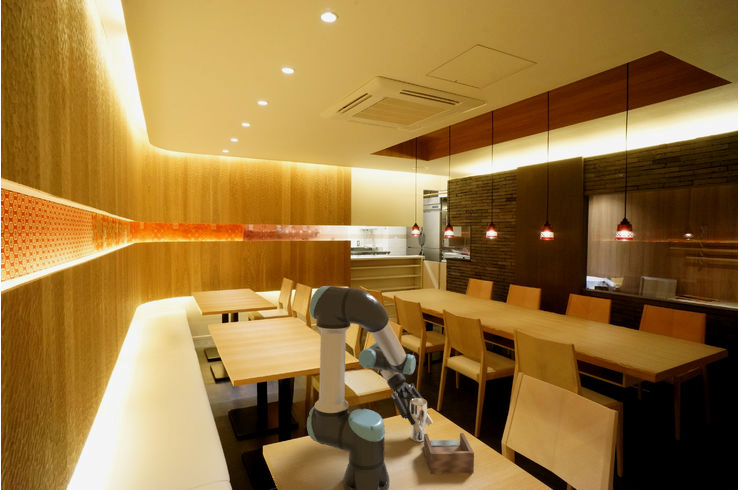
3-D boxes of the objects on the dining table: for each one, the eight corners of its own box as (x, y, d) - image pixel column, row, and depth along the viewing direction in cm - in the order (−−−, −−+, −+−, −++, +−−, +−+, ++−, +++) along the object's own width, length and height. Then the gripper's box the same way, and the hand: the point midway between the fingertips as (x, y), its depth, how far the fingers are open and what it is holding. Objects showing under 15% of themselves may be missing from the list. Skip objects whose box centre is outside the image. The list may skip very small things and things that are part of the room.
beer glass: (406, 434, 162) (407, 398, 161) (422, 432, 164) (422, 396, 163) (413, 443, 155) (414, 406, 154) (429, 441, 157) (430, 404, 156)
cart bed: (430, 473, 137) (431, 454, 137) (421, 445, 154) (422, 428, 154) (473, 472, 138) (474, 452, 138) (459, 444, 155) (460, 427, 154)
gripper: (402, 374, 176) (433, 422, 166) (373, 388, 161) (405, 441, 151) (412, 365, 172) (444, 414, 162) (383, 378, 157) (416, 433, 148)
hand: (425, 427), depth 157 cm, fingers closed on beer glass, 7 cm apart
